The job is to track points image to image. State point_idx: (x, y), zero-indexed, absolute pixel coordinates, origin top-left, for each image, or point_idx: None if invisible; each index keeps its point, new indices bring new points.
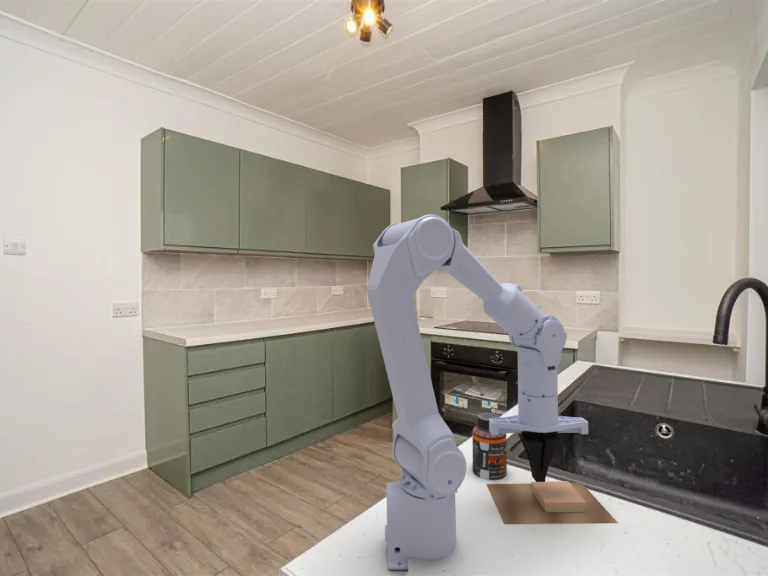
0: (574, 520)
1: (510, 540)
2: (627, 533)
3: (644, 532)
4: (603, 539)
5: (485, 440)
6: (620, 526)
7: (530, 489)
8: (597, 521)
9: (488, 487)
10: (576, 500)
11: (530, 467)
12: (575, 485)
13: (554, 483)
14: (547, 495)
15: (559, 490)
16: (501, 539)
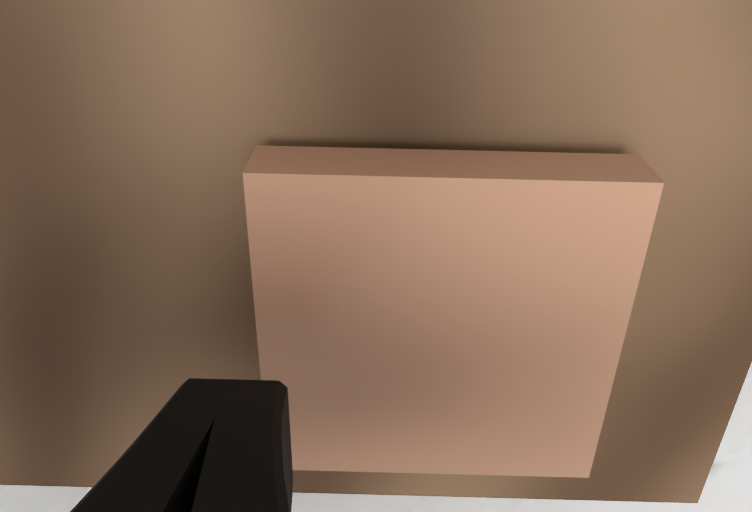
0: (443, 475)
1: (51, 493)
2: (715, 475)
3: None
4: (546, 504)
5: None
6: (729, 427)
7: (264, 99)
8: (580, 490)
9: None
10: (529, 459)
11: (141, 436)
12: None
13: (487, 215)
14: (324, 396)
15: (467, 337)
16: (3, 485)
